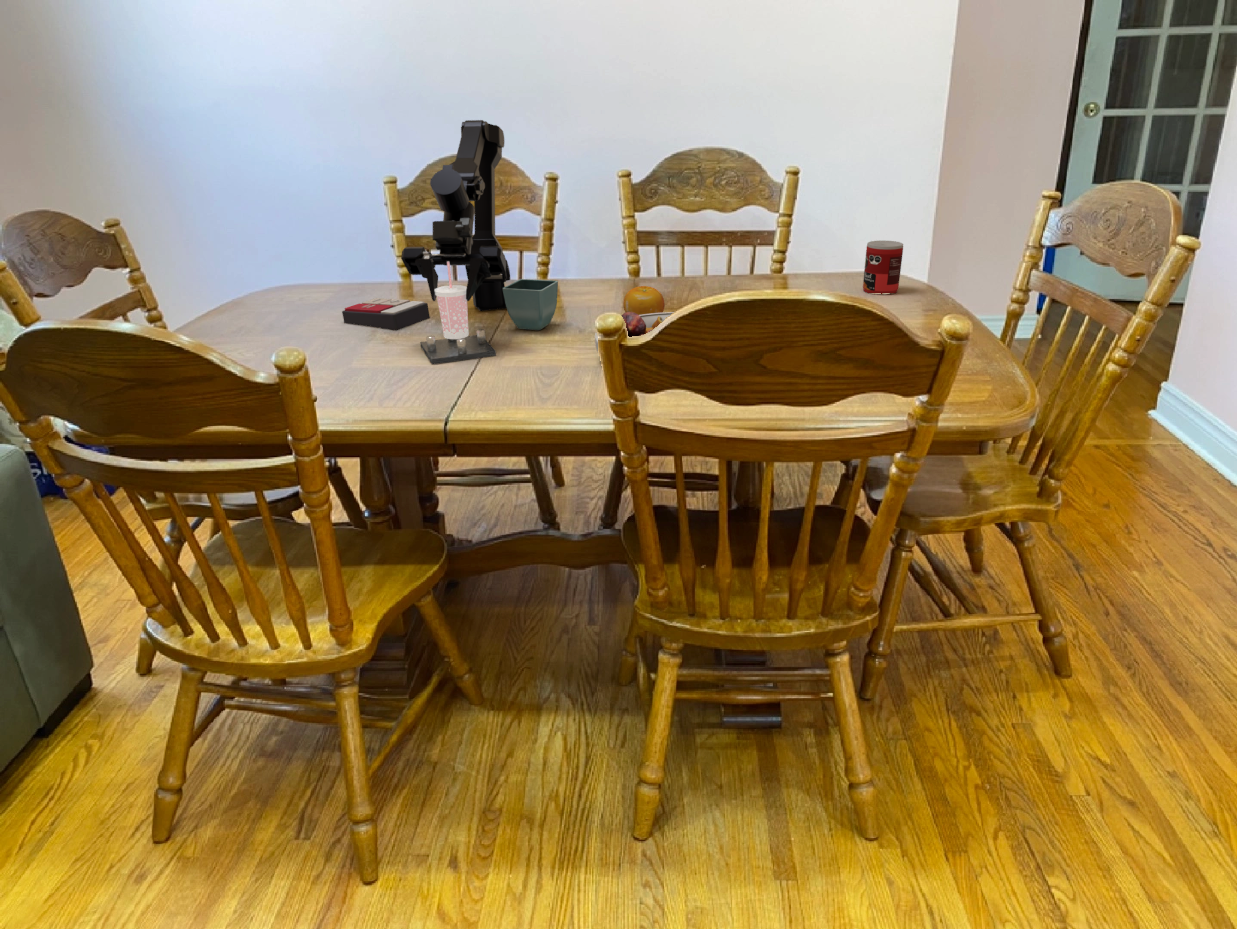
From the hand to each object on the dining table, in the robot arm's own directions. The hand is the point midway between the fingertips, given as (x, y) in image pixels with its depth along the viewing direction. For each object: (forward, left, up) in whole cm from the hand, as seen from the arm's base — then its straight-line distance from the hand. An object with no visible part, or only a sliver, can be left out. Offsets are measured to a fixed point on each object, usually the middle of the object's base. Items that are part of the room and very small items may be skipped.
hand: (450, 300), depth 156 cm
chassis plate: (0, -1, -10) cm, 10 cm away
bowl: (-36, +21, -11) cm, 43 cm away
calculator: (+9, -31, -11) cm, 34 cm away
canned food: (-100, -4, -10) cm, 101 cm away
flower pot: (-18, -11, -10) cm, 24 cm away
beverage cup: (-1, -1, -7) cm, 8 cm away
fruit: (-41, -6, -10) cm, 43 cm away
